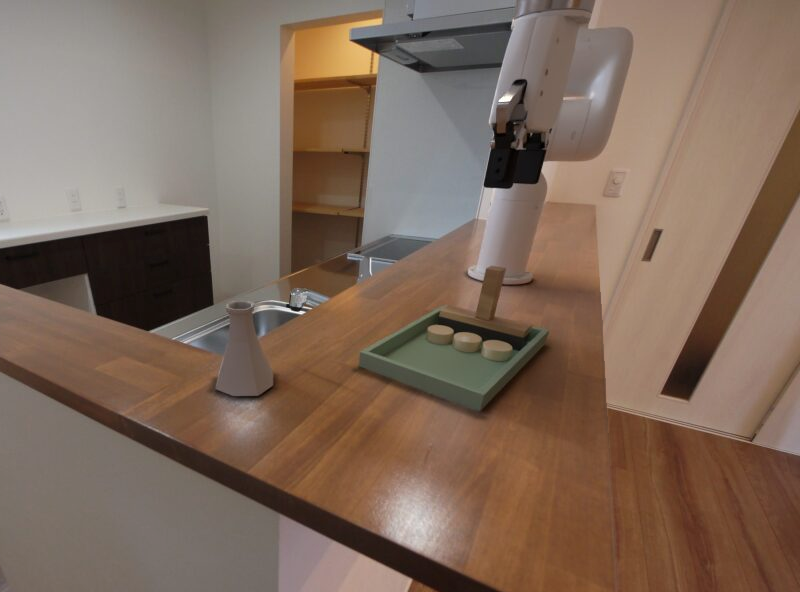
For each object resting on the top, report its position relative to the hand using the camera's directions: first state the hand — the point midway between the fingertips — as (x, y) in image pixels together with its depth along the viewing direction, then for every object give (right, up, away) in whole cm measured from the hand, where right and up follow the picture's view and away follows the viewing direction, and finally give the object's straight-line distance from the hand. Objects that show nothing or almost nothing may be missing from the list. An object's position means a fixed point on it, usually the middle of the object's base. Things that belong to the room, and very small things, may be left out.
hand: (511, 185), depth 53 cm
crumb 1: (-6, -18, +8) cm, 21 cm away
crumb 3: (0, -21, +4) cm, 21 cm away
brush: (0, -18, +9) cm, 20 cm away
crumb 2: (-3, -20, +6) cm, 21 cm away
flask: (-33, -25, -1) cm, 42 cm away
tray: (-5, -21, +4) cm, 22 cm away
